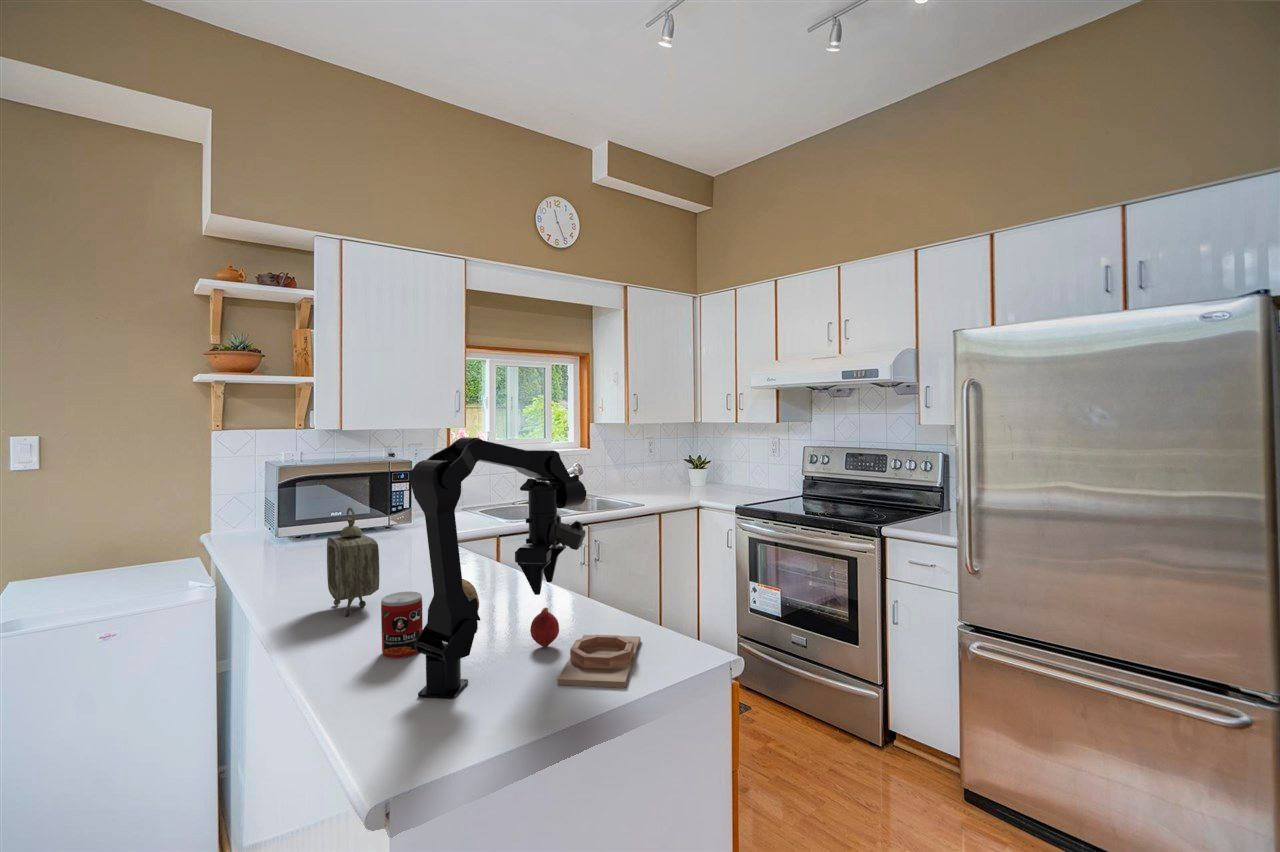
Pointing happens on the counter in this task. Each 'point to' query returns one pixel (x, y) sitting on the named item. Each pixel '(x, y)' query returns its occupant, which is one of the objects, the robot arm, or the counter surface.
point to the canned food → (401, 623)
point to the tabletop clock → (352, 565)
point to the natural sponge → (470, 590)
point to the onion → (544, 628)
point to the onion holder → (600, 661)
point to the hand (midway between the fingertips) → (543, 588)
